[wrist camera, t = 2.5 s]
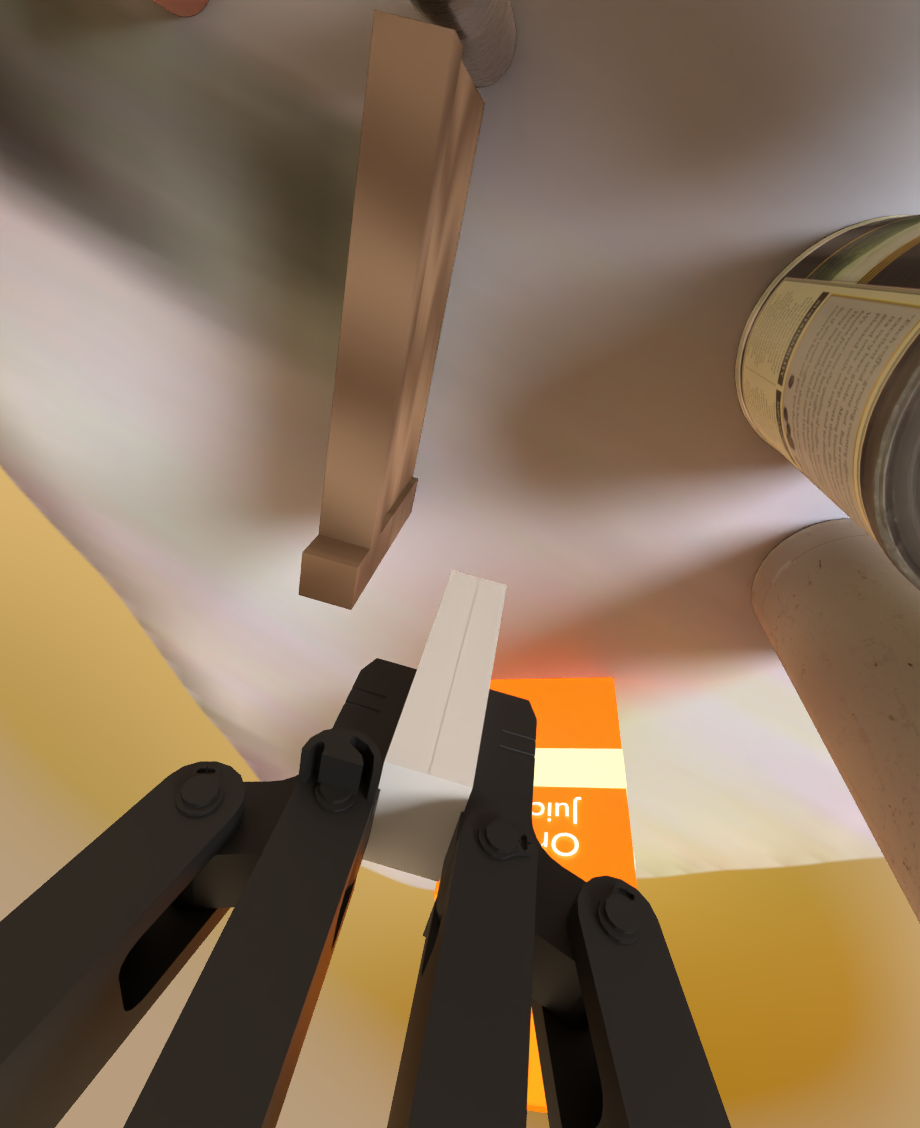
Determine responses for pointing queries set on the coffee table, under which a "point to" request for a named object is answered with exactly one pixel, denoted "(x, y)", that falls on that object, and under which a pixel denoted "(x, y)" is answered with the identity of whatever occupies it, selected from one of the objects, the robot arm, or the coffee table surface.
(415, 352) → the gate
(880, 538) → the coffee can
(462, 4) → the hinge post
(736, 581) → the coffee table surface
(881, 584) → the thermos bottle
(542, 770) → the orange juice
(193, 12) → the latch post
